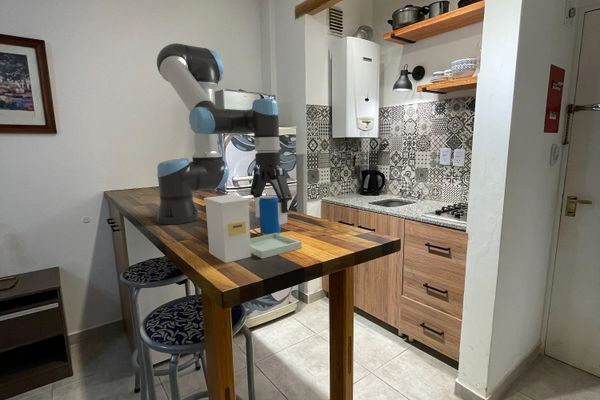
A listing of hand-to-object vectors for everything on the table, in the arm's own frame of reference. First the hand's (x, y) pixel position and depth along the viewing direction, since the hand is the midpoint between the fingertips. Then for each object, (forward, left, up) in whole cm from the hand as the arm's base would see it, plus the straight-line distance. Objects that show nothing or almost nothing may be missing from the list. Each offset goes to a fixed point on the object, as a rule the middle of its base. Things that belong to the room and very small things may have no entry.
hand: (270, 220), depth 103 cm
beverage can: (0, 0, -5) cm, 5 cm away
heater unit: (+10, -19, -5) cm, 22 cm away
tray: (+12, -8, -5) cm, 15 cm away
